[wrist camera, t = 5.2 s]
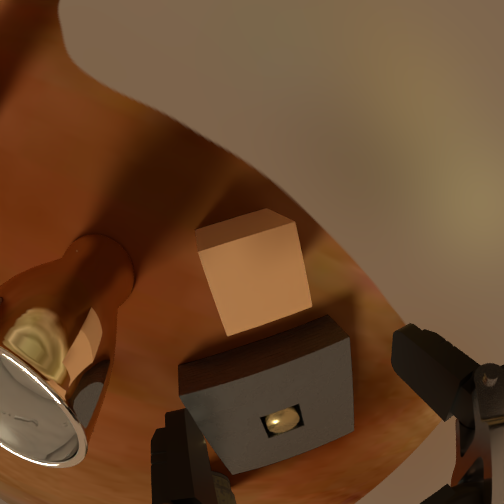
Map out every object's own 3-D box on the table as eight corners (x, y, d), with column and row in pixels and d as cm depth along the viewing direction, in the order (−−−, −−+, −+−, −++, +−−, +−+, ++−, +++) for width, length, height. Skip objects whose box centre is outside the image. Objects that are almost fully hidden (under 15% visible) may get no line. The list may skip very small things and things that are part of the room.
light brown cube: (194, 229, 21) (197, 252, 15) (266, 207, 22) (295, 221, 16) (216, 296, 23) (227, 336, 17) (282, 274, 23) (312, 306, 18)
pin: (254, 393, 25) (264, 419, 22) (284, 383, 26) (296, 407, 22) (262, 411, 26) (271, 436, 23) (290, 402, 27) (301, 425, 23)
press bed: (178, 365, 23) (178, 396, 20) (328, 314, 25) (349, 337, 22) (226, 448, 28) (232, 474, 24) (339, 408, 30) (353, 430, 26)
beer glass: (158, 266, 21) (126, 425, 7) (111, 329, 21) (64, 486, 7) (86, 208, 19) (-55, 282, 4) (46, 278, 19) (-61, 396, 5)
